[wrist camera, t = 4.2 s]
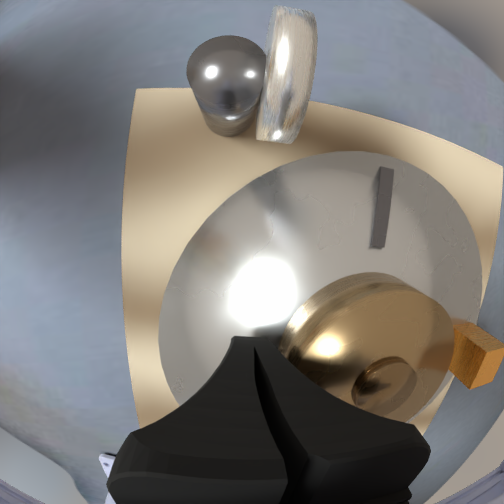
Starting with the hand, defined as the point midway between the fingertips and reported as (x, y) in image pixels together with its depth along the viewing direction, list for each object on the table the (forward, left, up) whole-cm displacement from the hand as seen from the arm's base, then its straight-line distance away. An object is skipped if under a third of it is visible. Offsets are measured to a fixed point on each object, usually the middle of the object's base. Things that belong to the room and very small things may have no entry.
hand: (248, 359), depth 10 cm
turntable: (0, -4, -2) cm, 5 cm away
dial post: (+9, +2, -3) cm, 10 cm away
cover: (0, -5, -1) cm, 5 cm away
